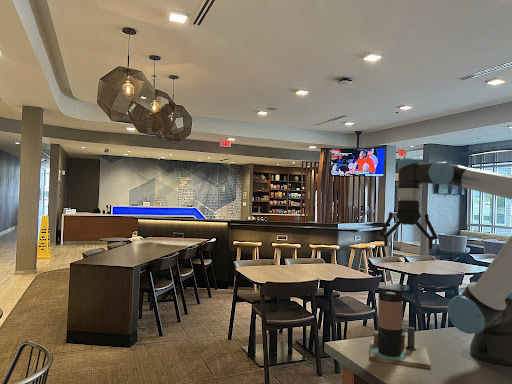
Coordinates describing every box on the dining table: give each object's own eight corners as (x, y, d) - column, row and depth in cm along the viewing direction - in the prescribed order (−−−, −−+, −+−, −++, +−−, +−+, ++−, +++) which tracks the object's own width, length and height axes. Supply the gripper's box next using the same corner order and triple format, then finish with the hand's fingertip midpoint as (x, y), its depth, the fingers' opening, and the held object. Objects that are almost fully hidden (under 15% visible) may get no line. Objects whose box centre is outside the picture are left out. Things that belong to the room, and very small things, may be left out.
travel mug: (403, 358, 126) (404, 295, 126) (378, 356, 127) (379, 293, 128) (400, 349, 133) (400, 290, 134) (376, 347, 135) (377, 288, 135)
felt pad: (406, 350, 134) (406, 349, 134) (408, 362, 123) (408, 361, 123) (372, 345, 137) (372, 344, 137) (371, 357, 127) (371, 356, 127)
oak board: (425, 350, 137) (425, 326, 137) (430, 368, 122) (431, 341, 122) (371, 343, 143) (371, 320, 143) (369, 359, 127) (370, 334, 128)
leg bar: (405, 344, 137) (405, 332, 137) (405, 347, 134) (405, 335, 134) (374, 340, 141) (374, 328, 141) (373, 343, 138) (374, 331, 138)
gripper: (443, 200, 148) (442, 257, 148) (374, 199, 156) (372, 253, 155) (446, 200, 141) (445, 260, 141) (373, 199, 149) (372, 255, 148)
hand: (407, 256), depth 148 cm, fingers open, 13 cm apart
